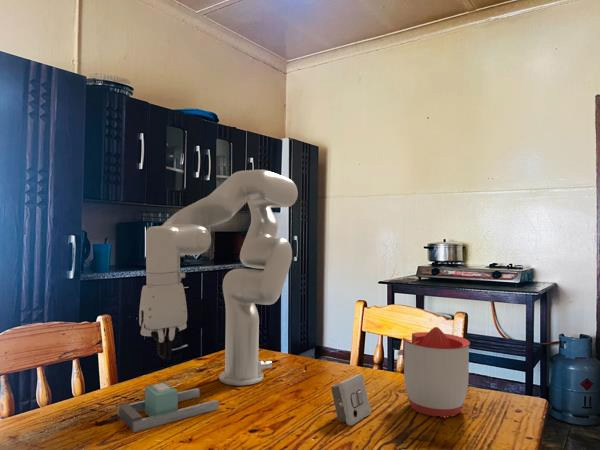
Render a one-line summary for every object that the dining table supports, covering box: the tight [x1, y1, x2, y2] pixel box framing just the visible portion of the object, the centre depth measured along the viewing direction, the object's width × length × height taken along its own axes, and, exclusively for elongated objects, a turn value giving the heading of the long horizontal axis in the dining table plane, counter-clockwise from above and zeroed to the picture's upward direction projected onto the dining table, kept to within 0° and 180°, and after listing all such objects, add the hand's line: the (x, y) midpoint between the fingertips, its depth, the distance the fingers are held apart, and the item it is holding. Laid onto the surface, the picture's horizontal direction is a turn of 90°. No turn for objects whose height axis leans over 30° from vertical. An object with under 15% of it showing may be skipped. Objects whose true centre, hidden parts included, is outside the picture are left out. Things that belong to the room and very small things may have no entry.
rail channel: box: [117, 387, 219, 433], centre depth 105 cm, size 20×11×2 cm, turn 129°
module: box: [144, 382, 179, 417], centre depth 104 cm, size 5×7×7 cm
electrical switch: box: [330, 373, 372, 426], centre depth 104 cm, size 9×5×9 cm, turn 141°
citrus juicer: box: [396, 326, 471, 418], centre depth 110 cm, size 16×17×20 cm
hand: (164, 357), depth 105 cm, fingers closed
